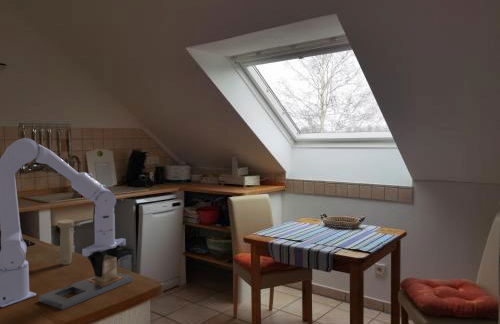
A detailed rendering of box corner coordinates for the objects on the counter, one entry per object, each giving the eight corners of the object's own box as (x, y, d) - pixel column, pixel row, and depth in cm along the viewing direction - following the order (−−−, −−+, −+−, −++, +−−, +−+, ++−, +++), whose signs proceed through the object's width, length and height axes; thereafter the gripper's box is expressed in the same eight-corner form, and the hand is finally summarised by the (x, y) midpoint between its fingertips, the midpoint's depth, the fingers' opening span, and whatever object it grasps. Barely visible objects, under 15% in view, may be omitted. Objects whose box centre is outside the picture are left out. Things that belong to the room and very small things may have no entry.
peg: (104, 286, 119) (104, 261, 118) (94, 283, 121) (94, 258, 121) (116, 281, 123) (116, 257, 122) (106, 278, 125) (106, 254, 125)
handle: (71, 260, 145) (70, 218, 144) (76, 264, 140) (75, 222, 139) (56, 262, 142) (55, 220, 141) (61, 267, 137) (60, 223, 136)
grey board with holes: (62, 309, 104) (62, 303, 104) (38, 301, 109) (38, 295, 109) (132, 281, 125) (132, 275, 125) (110, 275, 130) (109, 270, 130)
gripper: (93, 236, 113) (94, 283, 114) (132, 226, 125) (133, 269, 126) (77, 232, 116) (77, 279, 117) (116, 223, 129) (117, 265, 130)
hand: (105, 273), depth 122 cm, fingers closed on peg, 4 cm apart
